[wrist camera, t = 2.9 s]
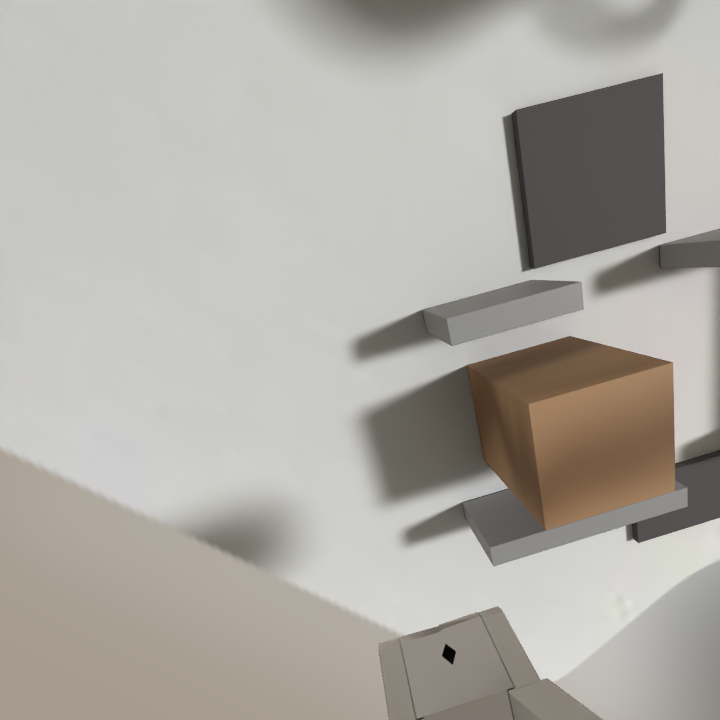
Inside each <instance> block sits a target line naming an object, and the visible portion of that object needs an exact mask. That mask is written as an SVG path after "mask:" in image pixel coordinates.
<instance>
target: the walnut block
mask: <svg viewBox="0 0 720 720" xmlns="http://www.w3.org/2000/svg"><path fill="white" fill-rule="evenodd" d="M467 369H468V374H469V380H470V385H471V391H472V396H473V402H474V407H475V413H476V418H477V424H478V429H479V435H480V440H481V446H482V451H483V457H484V460H485V462H486V463H487V464H488V465H489V466H490V467H491V468H492V470H493V471H494V472H495V473H496V474H497V475H498V476H499V478H500V479H501V480H502V481H503V482H504V483H505V484H506V486H507V487H508V488H509V489H510V490H511V491H512V492H513V494H514V495H515V496H516V497H517V498H518V499H519V500H520V502H521V503H522V504H523V505H524V506H525V507H526V508H527V510H528V511H529V512H530V513H531V514H532V515H533V516H534V518H535V519H536V520H537V521H538V522H539V523H540V524H541V526H542V527H543V528H544V529H545V530H549V529H552V528H555V527H559V526H562V525H565V524H569V523H572V522H575V521H578V520H582V519H585V518H588V517H591V516H595V515H598V514H601V513H605V512H608V511H611V510H614V509H618V508H621V507H624V506H627V505H631V504H634V503H637V502H641V501H644V500H647V499H650V498H654V497H657V496H660V495H663V494H667V493H670V492H673V491H675V445H674V391H673V362H669V361H665V360H661V359H657V358H653V357H650V356H646V355H642V354H638V353H634V352H630V351H626V350H622V349H618V348H614V347H610V346H606V345H603V344H599V343H595V342H591V341H587V340H583V339H579V338H575V337H571V336H569V337H565V338H562V339H558V340H555V341H551V342H548V343H544V344H540V345H537V346H533V347H530V348H526V349H523V350H519V351H516V352H512V353H509V354H505V355H501V356H498V357H494V358H491V359H487V360H484V361H480V362H477V363H473V364H469V365H467Z"/></svg>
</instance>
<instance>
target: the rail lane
mask: <svg viewBox="0 0 720 720" xmlns="http://www.w3.org/2000/svg"><path fill="white" fill-rule="evenodd" d="M677 267H720V229H717V230H713V231H710V232H706V233H702V234H699V235H695V236H691V237H688V238H684V239H680V240H677V241H673V242H669V243H666V244H662V245H660V268H677ZM583 309H584V307H583V295H582V283H581V282H575V281H548V280H530V281H526V282H523V283H519V284H515V285H512V286H508V287H504V288H501V289H497V290H493V291H490V292H486V293H482V294H479V295H475V296H471V297H468V298H464V299H460V300H457V301H453V302H449V303H446V304H442V305H438V306H435V307H431V308H427V309H424V310H423V315H424V320H425V325H426V330H427V332H428V333H430V334H431V335H433V336H435V337H437V338H438V339H440V340H442V341H444V342H446V343H447V344H449V345H451V346H453V345H457V344H461V343H464V342H468V341H471V340H475V339H479V338H482V337H486V336H489V335H493V334H496V333H500V332H504V331H507V330H511V329H514V328H518V327H522V326H525V325H529V324H532V323H536V322H540V321H543V320H547V319H550V318H554V317H558V316H561V315H565V314H568V313H572V312H575V311H579V310H583ZM684 507H688V496H687V487H686V486H684V485H682V484H681V483H679V482H677V481H676V480H675V491H673V492H670V493H667V494H663V495H660V496H657V497H654V498H650V499H647V500H644V501H641V502H637V503H634V504H631V505H627V506H624V507H621V508H618V509H614V510H611V511H608V512H605V513H601V514H598V515H595V516H591V517H588V518H585V519H582V520H578V521H575V522H572V523H569V524H565V525H562V526H559V527H555V528H552V529H549V530H545V529H544V528H543V527H542V526H541V524H540V523H539V522H538V521H537V520H536V519H535V518H534V516H533V515H532V514H531V513H530V512H529V511H528V510H527V508H526V507H525V506H524V505H523V504H522V503H521V502H520V500H519V499H518V498H517V497H516V496H515V495H514V494H513V492H512V491H511V490H510V489H507V490H504V491H500V492H497V493H494V494H490V495H487V496H484V497H480V498H477V499H474V500H470V501H467V502H464V503H463V508H464V513H465V518H466V520H467V522H468V524H469V525H470V527H471V529H472V531H473V532H474V534H475V536H476V537H477V539H478V541H479V542H480V544H481V546H482V547H483V549H484V551H485V553H486V554H487V556H488V558H489V559H490V561H491V563H492V564H493V566H496V565H500V564H503V563H506V562H509V561H513V560H516V559H519V558H522V557H526V556H529V555H532V554H535V553H539V552H542V551H545V550H548V549H551V548H555V547H558V546H561V545H564V544H568V543H571V542H574V541H577V540H581V539H584V538H587V537H590V536H594V535H597V534H600V533H603V532H607V531H610V530H613V529H616V528H620V527H623V526H626V525H629V524H633V523H636V522H639V521H642V520H645V519H649V518H652V517H655V516H658V515H662V514H665V513H668V512H671V511H675V510H678V509H681V508H684Z"/></svg>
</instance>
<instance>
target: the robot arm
mask: <svg viewBox="0 0 720 720" xmlns="http://www.w3.org/2000/svg"><path fill="white" fill-rule="evenodd" d="M379 657H380V663H381V670H382V677H383V683H384V690H385V696H386V703H387V710H388V717H389V720H603V719H602V718H600V717H599V716H597V715H596V714H595V713H593V712H592V711H591V710H589V709H588V708H587V707H585V706H584V705H582V704H581V703H580V702H579V701H577V700H576V699H574V698H573V697H572V696H570V695H569V694H567V693H566V692H565V691H564V690H562V689H561V688H560V687H558V686H557V685H556V684H554V683H553V682H552V681H550V680H549V679H543V680H540V678H539V676H538V675H537V673H536V671H535V669H534V667H533V665H532V664H531V662H530V660H529V658H528V656H527V655H526V653H525V651H524V649H523V647H522V646H521V644H520V642H519V640H518V638H517V636H516V635H515V633H514V631H513V629H512V627H511V626H510V624H509V622H508V620H507V618H506V617H505V615H504V613H503V611H502V610H501V609H500V608H499V607H498V606H497V607H494V608H491V609H488V610H485V611H482V612H479V613H477V612H476V613H473V614H470V615H467V616H464V617H461V618H458V619H455V620H452V621H449V622H446V623H443V624H440V625H439V626H438V627H434V628H430V629H427V630H423V631H420V632H416V633H412V634H409V635H405V636H402V637H400V638H399V637H398V638H395V639H392V640H388V641H385V642H382V643H379Z"/></svg>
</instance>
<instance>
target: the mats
mask: <svg viewBox="0 0 720 720" xmlns="http://www.w3.org/2000/svg"><path fill="white" fill-rule="evenodd" d="M512 118H513V126H514V134H515V142H516V151H517V159H518V167H519V175H520V184H521V192H522V200H523V208H524V217H525V225H526V233H527V242H528V250H529V258H530V266H531V268H538V267H542V266H545V265H549V264H553V263H556V262H560V261H564V260H567V259H571V258H575V257H579V256H582V255H586V254H590V253H593V252H597V251H601V250H604V249H608V248H612V247H615V246H619V245H623V244H626V243H630V242H634V241H637V240H641V239H645V238H649V237H652V236H656V235H660V234H663V233H666V210H665V162H664V114H663V73H662V74H658V75H654V76H650V77H646V78H642V79H638V80H634V81H630V82H626V83H622V84H618V85H614V86H610V87H606V88H602V89H598V90H594V91H590V92H586V93H582V94H578V95H574V96H570V97H566V98H562V99H558V100H554V101H550V102H546V103H542V104H538V105H534V106H530V107H526V108H522V109H518V110H515V111H514V112H513V113H512ZM675 480H676V481H677V482H679V483H681V484H682V485H684V486H686V487H687V496H688V507H684V508H681V509H678V510H675V511H671V512H668V513H665V514H662V515H658V516H655V517H652V518H649V519H645V520H642V521H639V522H636V523H633V536H634V540H636V541H637V542H638V543H640V542H643V541H646V540H649V539H652V538H656V537H659V536H662V535H665V534H669V533H672V532H675V531H678V530H681V529H685V528H688V527H691V526H694V525H697V524H701V523H704V522H707V521H710V520H714V519H717V518H720V451H717V452H714V453H711V454H707V455H704V456H701V457H697V458H694V459H691V460H687V461H684V462H681V463H678V464H675Z"/></svg>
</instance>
